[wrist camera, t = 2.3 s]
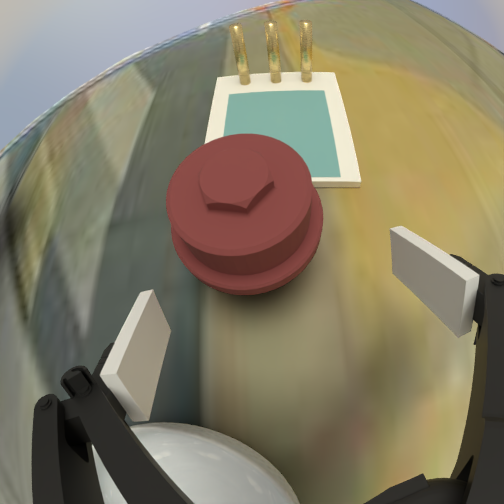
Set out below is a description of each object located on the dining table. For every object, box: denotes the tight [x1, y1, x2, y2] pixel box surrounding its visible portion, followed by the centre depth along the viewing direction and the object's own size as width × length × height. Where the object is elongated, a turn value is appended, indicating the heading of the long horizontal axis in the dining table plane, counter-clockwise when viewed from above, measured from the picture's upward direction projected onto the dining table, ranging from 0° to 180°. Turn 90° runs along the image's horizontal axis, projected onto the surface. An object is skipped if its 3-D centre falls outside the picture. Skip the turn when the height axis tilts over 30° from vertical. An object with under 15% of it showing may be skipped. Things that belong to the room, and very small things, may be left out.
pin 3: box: [300, 20, 312, 83], centre depth 31 cm, size 1×1×9 cm
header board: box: [205, 72, 361, 187], centre depth 33 cm, size 16×19×1 cm
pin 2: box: [264, 21, 281, 83], centre depth 31 cm, size 1×1×9 cm
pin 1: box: [229, 23, 251, 85], centre depth 32 cm, size 1×1×9 cm
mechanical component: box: [166, 134, 323, 295], centre depth 21 cm, size 12×10×10 cm
